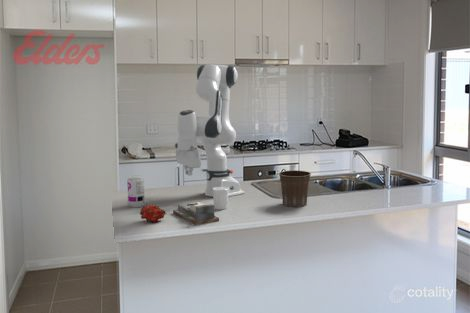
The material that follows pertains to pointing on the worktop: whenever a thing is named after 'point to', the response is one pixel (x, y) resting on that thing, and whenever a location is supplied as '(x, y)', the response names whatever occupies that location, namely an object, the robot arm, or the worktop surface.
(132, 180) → the supplement can
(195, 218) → the base
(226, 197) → the white cup
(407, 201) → the worktop surface
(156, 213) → the dragon fruit
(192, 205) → the cream block with rod
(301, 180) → the plant pot
